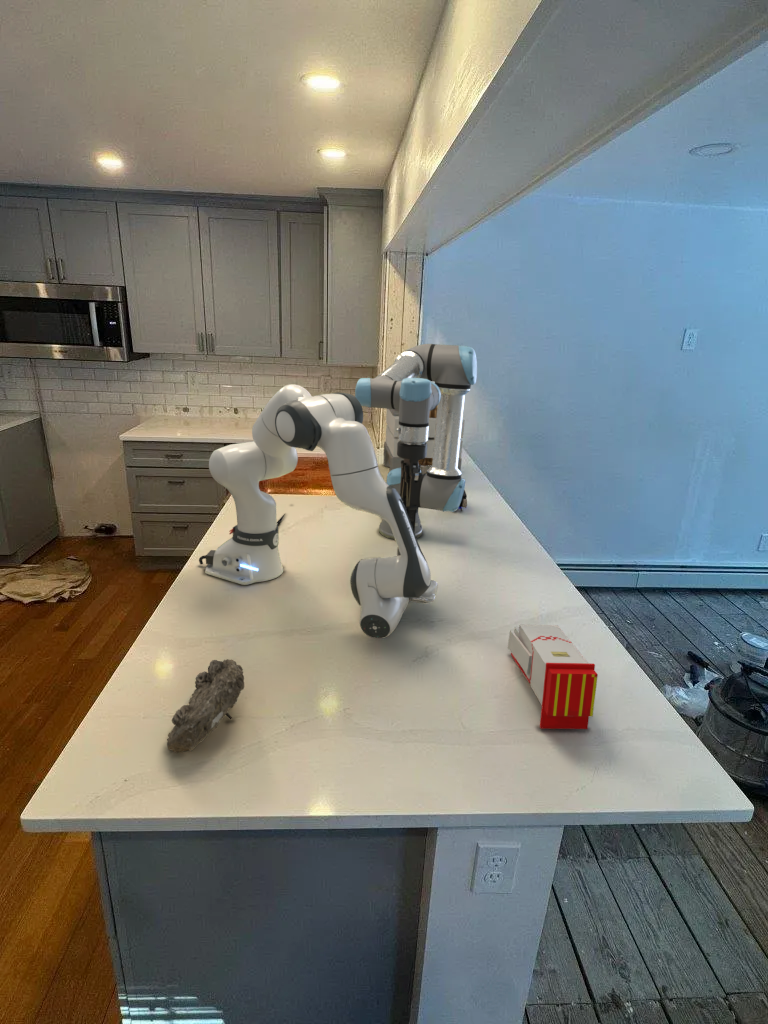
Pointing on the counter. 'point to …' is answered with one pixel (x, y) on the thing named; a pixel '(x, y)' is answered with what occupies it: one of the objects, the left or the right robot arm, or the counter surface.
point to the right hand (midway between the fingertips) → (407, 528)
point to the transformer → (392, 440)
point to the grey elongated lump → (206, 705)
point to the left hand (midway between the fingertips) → (405, 573)
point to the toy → (555, 675)
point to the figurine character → (463, 501)
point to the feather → (280, 520)
